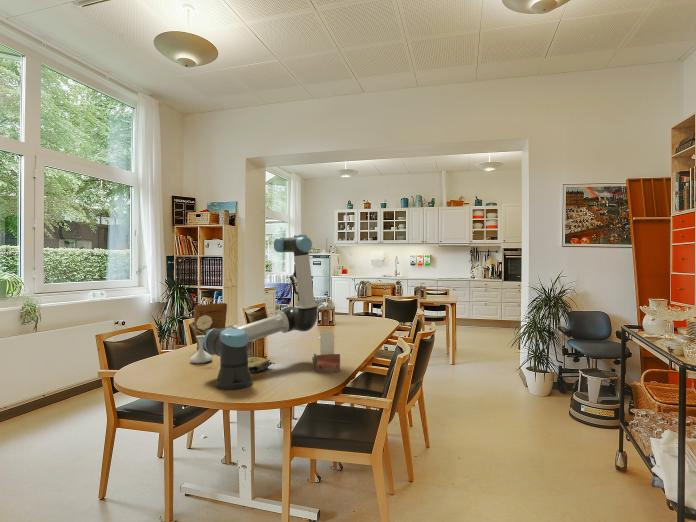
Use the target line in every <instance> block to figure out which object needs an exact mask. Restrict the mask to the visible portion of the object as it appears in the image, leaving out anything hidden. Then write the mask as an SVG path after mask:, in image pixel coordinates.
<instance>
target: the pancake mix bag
mask: <svg viewBox="0 0 696 522" xmlns="http://www.w3.org/2000/svg"><path fill="white" fill-rule="evenodd" d="M195 305H196V304H195ZM227 312H228V304H227V303H225V302H220V303H219V302H217V303H210V304H197V305H196V306H194V307H193V320H194V323H193V325H194V330H195V339H196V345H197V347H196V352H197V351H198V349H199V343H198V339H197V338H196V336H200V335H202V334H203V333H204V334H203V335H206V333H205V332H204V331H205V330H202V329H199V328H197V327H198V326H197V324H196V322H197V320H198V319H199V318H201V317H202V316H205V315H206V316H209V317H210V318H211V319H212V324H211V325H210V327H209V328H206V330H208V329H209V330H211V329H213V328H220V329H221V328H225V327H226V323H227V314H228V313H227ZM196 330H197V331H196ZM198 331H199V332H198ZM200 332H201V333H200ZM203 349H204V351H206V352H208V351H207V350H206V349H205V347H204V343H203Z"/></svg>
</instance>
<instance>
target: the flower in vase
mask: <svg viewBox="0 0 696 522" xmlns="http://www.w3.org/2000/svg"><path fill="white" fill-rule="evenodd" d="M196 324H197V326H198V327H197V328H199V329H202V330H205V331H204V332H205V333H207V332H208V331H209V329H208V330H206V328H209V327H210V325H211V324H212V319H211V318H210V317H209V316H206V315H205V316H202V317H201V318H199V319H198V320H197V322H196ZM196 331H197V330H196ZM198 332H199V331H198ZM200 333H201V332H200ZM203 334H204V333H203ZM203 334H202V335H200V336H196V335H195V339H196V338H197V339H198V343H199V349H198V351H197V350H196V352H195V353H194V354H193V355H191V357H190V359H189V361H190V362H191V363H194V364H202V363H209V362H210V361H212V359H213V356H212V354H211V353H209V352H208V351H204V349H203V341H204V337H205V335H203Z"/></svg>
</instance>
